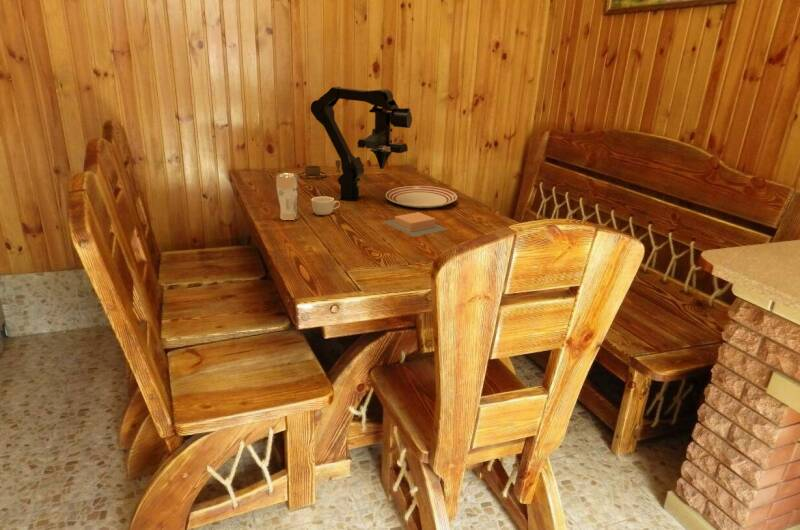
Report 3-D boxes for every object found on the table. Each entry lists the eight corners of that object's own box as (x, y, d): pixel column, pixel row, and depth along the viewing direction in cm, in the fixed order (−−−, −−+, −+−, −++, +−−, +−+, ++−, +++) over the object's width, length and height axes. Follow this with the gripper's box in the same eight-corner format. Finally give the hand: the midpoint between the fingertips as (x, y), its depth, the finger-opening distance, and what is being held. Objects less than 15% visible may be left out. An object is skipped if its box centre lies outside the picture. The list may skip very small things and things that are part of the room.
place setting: (298, 173, 250) (297, 161, 248) (340, 172, 255) (340, 159, 253) (301, 182, 235) (300, 168, 232) (346, 180, 239) (346, 167, 237)
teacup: (313, 217, 184) (313, 202, 182) (310, 211, 191) (309, 197, 189) (342, 216, 187) (342, 201, 185) (338, 210, 194) (337, 195, 192)
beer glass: (281, 222, 178) (279, 178, 173) (276, 217, 184) (273, 173, 179) (302, 220, 181) (300, 176, 176) (295, 214, 187) (293, 172, 182)
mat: (381, 223, 180) (381, 221, 180) (415, 216, 188) (415, 215, 188) (413, 237, 167) (414, 236, 167) (448, 230, 175) (448, 229, 174)
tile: (394, 216, 177) (410, 223, 170) (418, 212, 182) (435, 218, 176) (394, 224, 178) (410, 231, 171) (418, 219, 183) (435, 226, 177)
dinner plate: (452, 215, 192) (453, 206, 191) (377, 209, 197) (378, 200, 195) (460, 196, 217) (460, 188, 216) (393, 191, 222) (393, 183, 220)
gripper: (348, 125, 192) (348, 168, 198) (392, 131, 183) (391, 176, 189) (366, 122, 201) (365, 164, 207) (409, 127, 192) (407, 170, 198)
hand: (381, 168), depth 200 cm, fingers closed
